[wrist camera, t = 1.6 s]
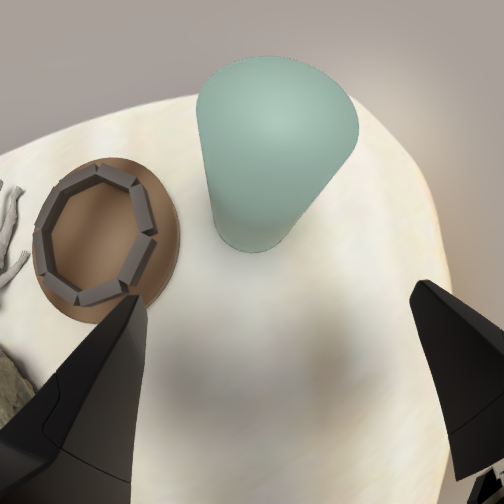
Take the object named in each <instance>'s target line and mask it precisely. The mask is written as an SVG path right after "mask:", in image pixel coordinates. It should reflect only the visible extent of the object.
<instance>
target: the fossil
mask: <svg viewBox="0 0 504 504" xmlns="http://www.w3.org/2000/svg"><path fill="white" fill-rule="evenodd" d="M34 395H35V393H34V389H33V387H32V385H31V384H30V383H29V382H28V381H27V380H26V379H23V378H22V376H21V374H20V373H19V371H18V370H17V368H16V367H15V365H14V363H13V362H12V361H11V360H10V359H9V358H8V357H7V356H6V355H5V354H4V352H3V351H2V350H1V349H0V429H1V428H2V427H4V426H5V425H6V423H7V422H8V421H9V420H10V419H11V418H12V417H13V416H14V415H15V414H16V413H17V412H18V411H19V410H20V409H21V408H22V407H23V406H24V405H25V404H26V403H27V402H28V401H29V400H30V399H31V398H32V397H33V396H34Z"/></svg>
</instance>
